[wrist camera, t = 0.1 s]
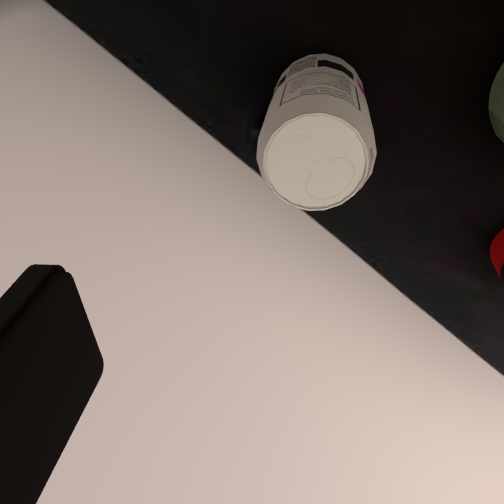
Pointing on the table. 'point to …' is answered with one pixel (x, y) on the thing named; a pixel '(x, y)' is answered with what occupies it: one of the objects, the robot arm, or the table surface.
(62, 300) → the robot arm
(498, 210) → the table surface
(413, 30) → the table surface
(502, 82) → the canister
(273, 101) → the supplement can
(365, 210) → the table surface
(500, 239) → the soda can
